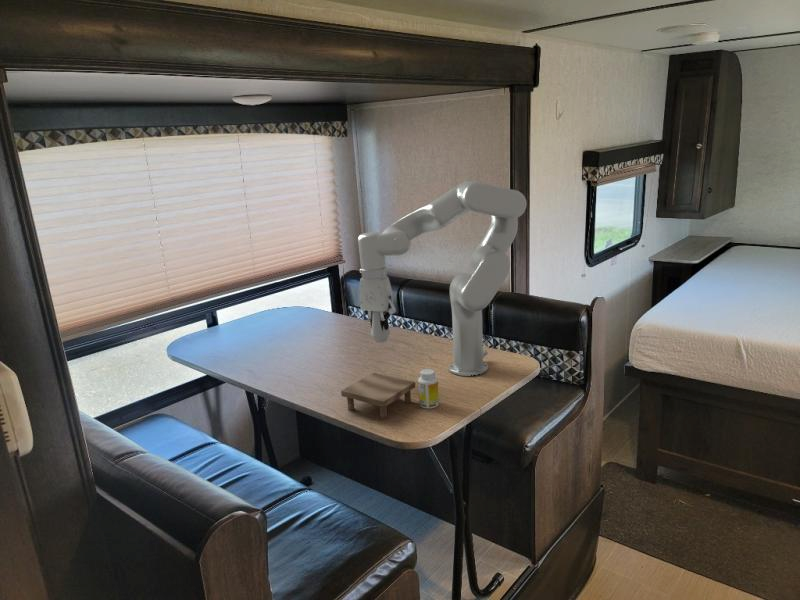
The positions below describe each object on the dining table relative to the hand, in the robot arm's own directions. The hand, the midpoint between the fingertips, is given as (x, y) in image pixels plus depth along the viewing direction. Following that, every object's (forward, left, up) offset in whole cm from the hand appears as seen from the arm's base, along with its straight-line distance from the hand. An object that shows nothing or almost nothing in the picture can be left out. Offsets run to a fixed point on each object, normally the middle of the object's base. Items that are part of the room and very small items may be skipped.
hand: (380, 330), depth 178 cm
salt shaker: (0, 0, -4) cm, 4 cm away
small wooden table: (+16, +10, -17) cm, 25 cm away
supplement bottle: (+8, +23, -17) cm, 29 cm away
